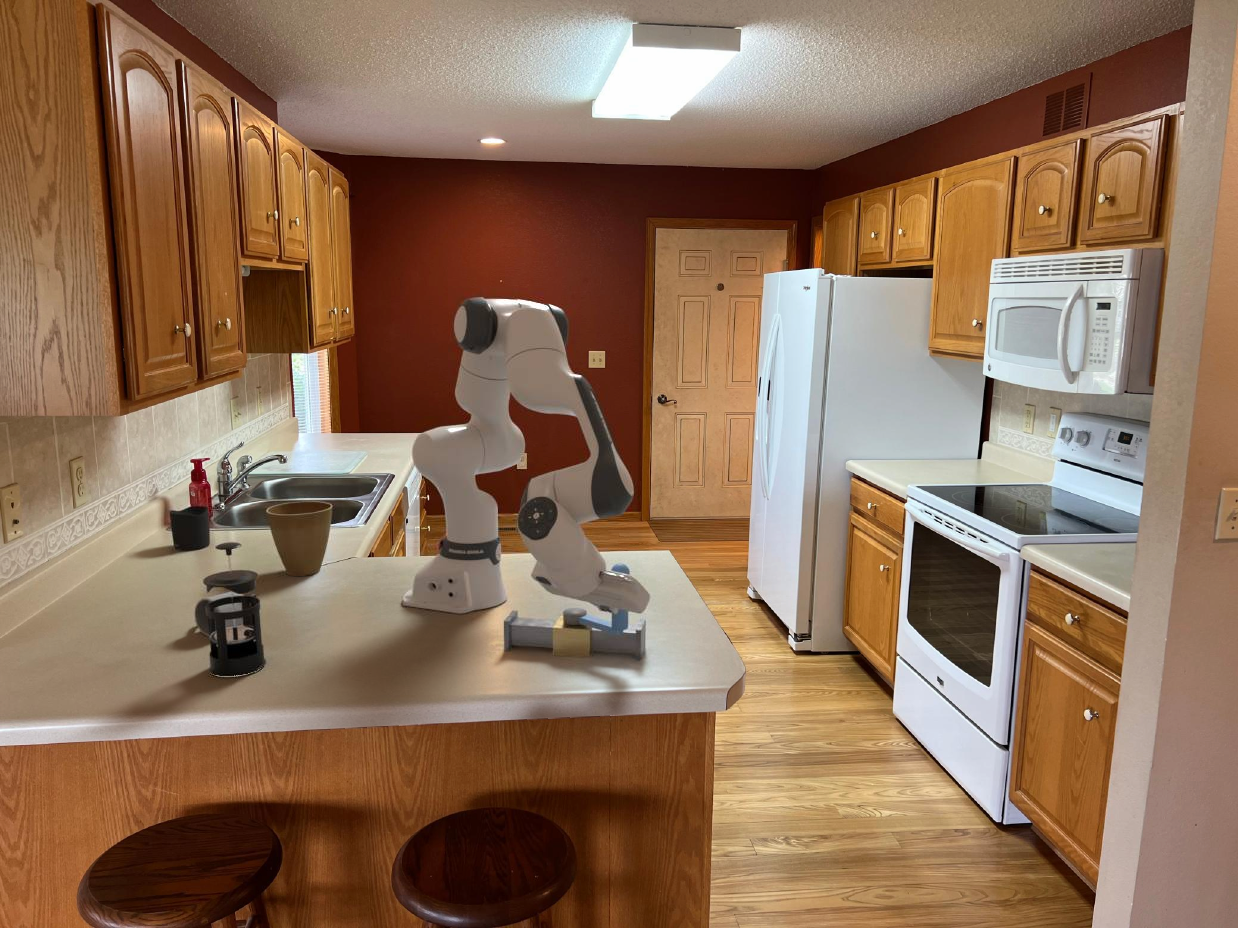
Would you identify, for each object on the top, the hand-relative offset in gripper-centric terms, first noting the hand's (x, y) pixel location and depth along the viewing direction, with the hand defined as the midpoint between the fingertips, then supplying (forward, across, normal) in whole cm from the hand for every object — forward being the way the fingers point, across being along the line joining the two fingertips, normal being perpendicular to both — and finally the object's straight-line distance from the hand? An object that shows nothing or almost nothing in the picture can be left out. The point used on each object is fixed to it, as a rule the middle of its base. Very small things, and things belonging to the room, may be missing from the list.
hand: (610, 608), depth 161 cm
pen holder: (+11, +136, +4) cm, 137 cm away
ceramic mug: (-11, +76, +27) cm, 82 cm away
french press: (-17, +56, +34) cm, 68 cm away
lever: (+6, +5, +2) cm, 8 cm away
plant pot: (+12, +93, +3) cm, 94 cm away
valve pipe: (+10, +10, +5) cm, 16 cm away
